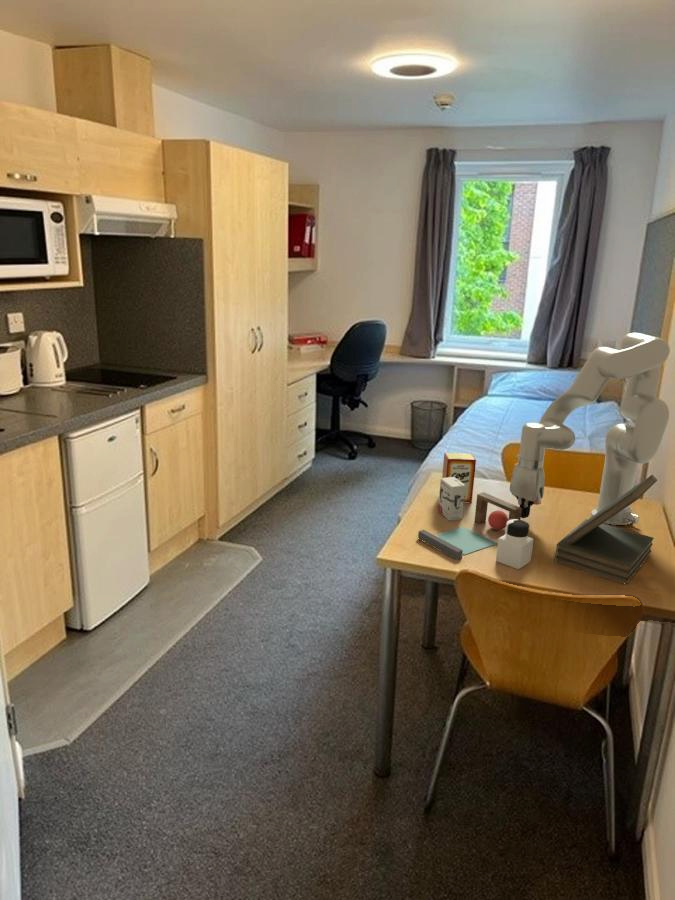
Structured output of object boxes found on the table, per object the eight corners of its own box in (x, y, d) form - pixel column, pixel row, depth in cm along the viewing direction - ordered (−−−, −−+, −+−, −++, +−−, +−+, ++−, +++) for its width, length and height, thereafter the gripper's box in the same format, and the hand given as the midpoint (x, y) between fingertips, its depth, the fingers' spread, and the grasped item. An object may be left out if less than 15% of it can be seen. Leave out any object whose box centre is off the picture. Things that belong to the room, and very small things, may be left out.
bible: (582, 537, 198) (594, 460, 191) (650, 557, 187) (666, 475, 179) (553, 563, 181) (565, 479, 174) (626, 587, 170) (642, 498, 162)
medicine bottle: (531, 561, 181) (536, 522, 177) (518, 570, 176) (523, 529, 172) (508, 553, 186) (512, 514, 182) (495, 561, 181) (499, 521, 177)
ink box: (436, 510, 214) (439, 477, 210) (450, 509, 215) (453, 476, 212) (448, 521, 206) (452, 486, 203) (462, 519, 208) (466, 485, 204)
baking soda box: (467, 495, 228) (471, 452, 223) (471, 503, 222) (476, 458, 217) (440, 495, 227) (444, 452, 223) (444, 502, 221) (448, 457, 216)
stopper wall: (461, 558, 182) (462, 550, 181) (456, 560, 181) (457, 551, 180) (423, 537, 194) (423, 529, 193) (418, 538, 193) (418, 531, 192)
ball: (498, 535, 198) (511, 529, 201) (499, 518, 195) (512, 512, 199) (483, 528, 202) (497, 522, 205) (484, 511, 200) (497, 505, 203)
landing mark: (497, 543, 191) (497, 543, 191) (464, 555, 184) (464, 554, 183) (463, 526, 202) (463, 526, 202) (430, 537, 194) (430, 536, 194)
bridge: (480, 520, 207) (483, 492, 204) (518, 537, 196) (521, 508, 193) (474, 522, 206) (477, 494, 203) (511, 540, 194) (515, 510, 191)
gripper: (503, 457, 206) (497, 511, 211) (542, 471, 194) (535, 527, 200) (519, 454, 210) (513, 506, 215) (558, 467, 198) (550, 522, 204)
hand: (523, 516), depth 207 cm, fingers closed
